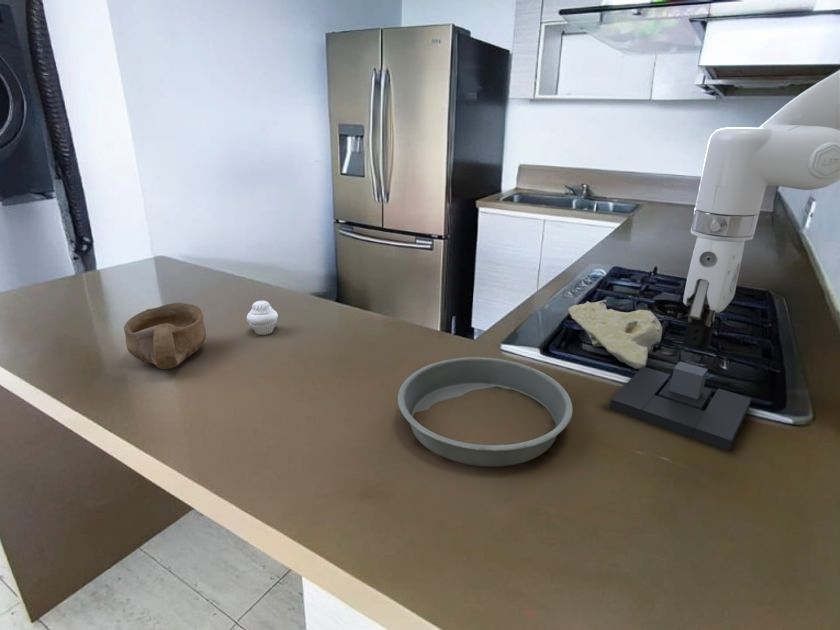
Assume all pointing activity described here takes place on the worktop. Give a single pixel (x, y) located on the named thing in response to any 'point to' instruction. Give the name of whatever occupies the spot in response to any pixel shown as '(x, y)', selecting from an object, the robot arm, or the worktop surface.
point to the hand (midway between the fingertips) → (695, 347)
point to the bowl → (165, 334)
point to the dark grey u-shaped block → (682, 409)
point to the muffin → (262, 318)
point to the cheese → (619, 331)
